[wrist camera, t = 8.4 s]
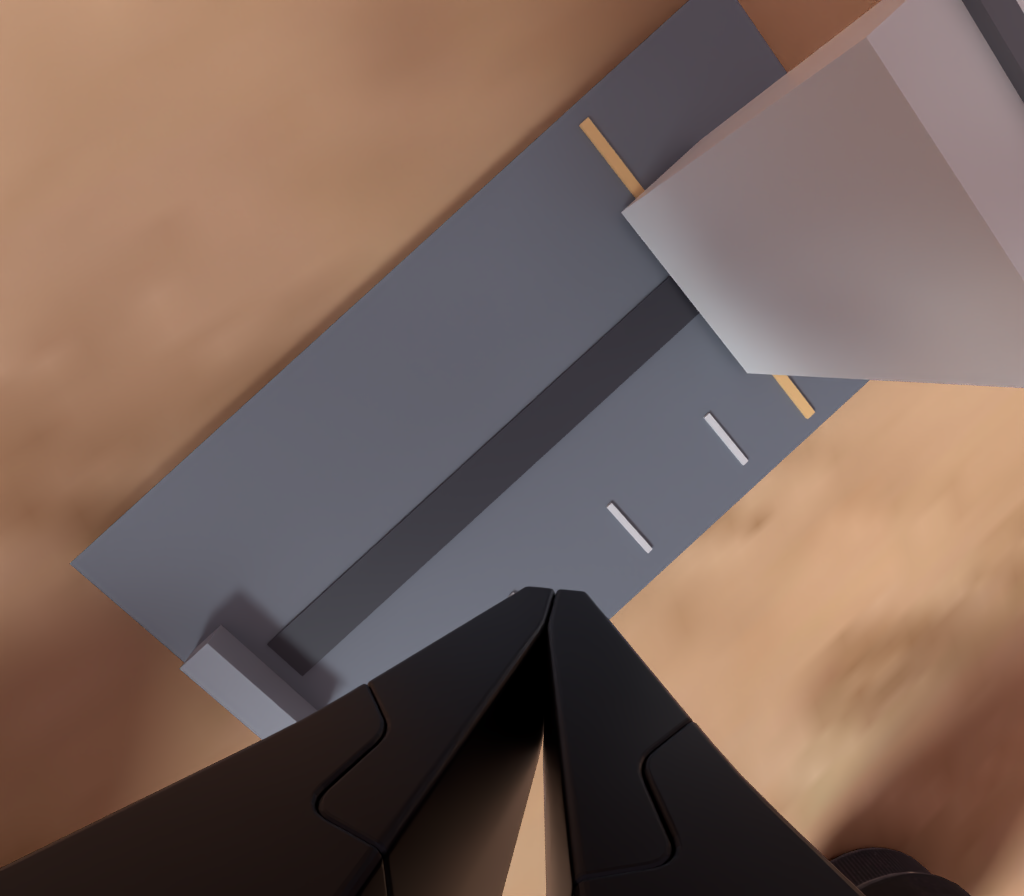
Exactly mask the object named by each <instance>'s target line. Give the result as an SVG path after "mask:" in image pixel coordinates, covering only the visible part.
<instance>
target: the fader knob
mask: <svg viewBox="0 0 1024 896" xmlns="http://www.w3.org/2000/svg"><path fill="white" fill-rule="evenodd" d="M621 213H622V214H623V216H624V217H625V218H626V220H627V221H628V222H629V223H630V225H631V226H632V227H633V228H634V230H635V231H636V232H637V234H638V235H639V236H640V237H641V239H642V240H643V241H644V242H645V244H646V245H647V246H648V248H649V249H650V250H651V251H652V253H653V254H654V255H655V256H656V258H657V259H658V260H659V262H660V263H661V264H662V265H663V267H664V268H665V269H666V270H667V272H668V273H669V274H670V276H671V277H672V278H673V279H674V281H675V282H676V283H677V284H678V286H679V287H680V288H681V290H682V291H683V292H684V293H685V295H686V296H687V297H688V298H689V300H690V301H691V302H692V304H693V305H694V306H695V307H696V309H697V310H698V311H699V312H700V314H701V315H702V316H703V318H704V319H705V320H706V321H707V323H708V324H709V325H710V326H711V328H712V329H713V330H714V332H715V333H716V334H717V335H718V337H719V338H720V339H721V341H722V342H723V343H724V344H725V346H726V347H727V348H728V349H729V351H730V352H731V353H732V355H733V356H734V357H735V358H736V360H737V361H738V362H739V363H740V365H741V366H742V367H743V369H744V370H745V371H746V372H747V373H751V374H770V375H789V376H808V377H827V378H845V379H864V380H883V381H902V382H921V383H940V384H958V385H977V386H996V387H1015V388H1024V0H881V1H880V2H879V3H877V4H876V5H875V6H874V7H872V8H871V9H870V10H868V11H867V12H866V13H864V14H863V15H862V16H861V17H859V18H858V19H857V20H855V21H854V22H853V23H851V24H850V25H849V26H848V27H846V28H845V29H844V30H842V31H841V32H840V33H839V34H837V35H836V36H835V37H833V38H832V39H831V40H829V41H828V42H827V43H826V44H824V45H823V46H822V47H820V48H819V49H818V50H816V51H815V52H814V53H813V54H811V55H810V56H809V57H807V58H806V59H805V60H803V61H802V62H801V63H800V64H798V65H797V66H796V67H794V68H793V69H792V70H791V71H789V72H788V73H787V74H785V75H784V76H783V77H781V78H780V79H779V80H778V81H776V82H775V83H774V84H772V85H771V86H770V87H768V88H767V89H766V90H765V91H763V92H762V93H761V94H759V95H758V96H757V97H756V98H754V99H753V100H752V101H750V102H749V103H748V104H746V105H745V106H744V107H743V108H741V109H740V110H739V111H737V112H736V113H735V114H733V115H732V116H731V117H730V118H728V119H727V120H726V121H724V122H723V123H722V124H720V125H719V126H718V127H717V128H715V129H714V130H713V131H711V132H710V133H709V134H708V135H706V136H705V137H704V138H702V139H701V140H700V141H699V142H698V143H696V144H695V145H694V146H693V147H692V148H691V149H690V150H689V151H688V152H687V153H686V154H684V155H683V156H682V157H681V158H680V159H679V160H678V161H677V162H676V163H675V164H673V165H672V166H671V167H670V168H669V169H668V170H667V171H666V172H665V173H664V174H663V175H661V176H660V177H659V178H658V179H657V180H656V181H655V182H654V183H653V184H652V185H650V186H649V187H648V188H647V189H646V190H645V191H644V192H643V193H642V194H641V195H639V196H638V197H637V198H636V199H635V200H634V201H633V202H632V203H631V204H630V205H629V206H627V207H626V208H625V209H624V210H623V211H622V212H621Z"/></svg>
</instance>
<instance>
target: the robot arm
mask: <svg viewBox="0 0 1024 896" xmlns="http://www.w3.org/2000/svg"><path fill="white" fill-rule="evenodd" d="M543 733H544V738H543ZM542 740H543V776H544V818H545V860H546V896H865V895H864V894H863V893H862V892H861V891H860V890H859V889H858V888H857V887H856V886H855V885H854V884H853V883H852V882H851V881H849V880H848V879H847V878H846V877H845V876H844V875H843V874H842V873H841V872H840V871H839V870H838V869H837V868H836V867H835V866H834V865H833V864H832V863H831V862H830V861H829V860H828V859H826V858H825V857H824V856H823V855H822V854H821V853H820V852H819V851H818V850H817V849H816V848H815V847H814V846H813V845H812V844H811V843H810V842H809V841H808V840H807V839H806V838H805V837H803V836H802V835H801V834H800V833H799V832H798V831H797V830H796V829H795V828H794V827H793V826H792V825H791V824H790V823H789V822H788V821H787V820H786V819H785V818H784V817H783V816H782V815H781V814H780V813H779V812H778V811H777V810H776V809H775V808H774V807H773V806H772V805H771V804H770V803H769V802H768V801H767V800H766V799H765V798H764V797H763V796H762V795H761V794H760V793H759V792H758V791H757V790H756V789H755V788H754V787H753V786H752V785H751V784H750V783H749V782H748V781H747V780H746V779H745V778H744V777H743V776H742V775H741V774H740V773H739V772H738V771H737V770H736V769H735V767H734V766H733V765H732V764H731V763H730V762H729V761H728V760H727V758H726V757H725V756H724V755H723V754H722V753H721V752H720V751H719V749H718V748H717V747H716V746H715V745H714V744H713V743H712V742H711V740H710V739H709V738H708V737H707V736H706V734H705V733H704V732H703V731H702V730H701V728H700V727H699V726H698V725H697V724H696V723H694V722H693V721H692V719H691V718H690V717H689V716H688V714H687V713H686V712H685V711H684V710H683V708H682V707H681V706H680V705H679V704H678V702H677V701H676V700H675V699H674V697H673V696H672V695H671V694H670V693H669V691H668V690H667V689H666V688H665V687H664V685H663V684H662V683H661V682H660V681H659V679H658V678H657V677H656V676H655V675H654V673H653V672H652V671H651V670H650V669H649V667H648V666H647V665H646V664H645V663H644V661H643V660H642V659H641V658H640V657H639V655H638V654H637V653H636V652H635V651H634V649H633V648H632V647H631V646H630V644H629V643H628V642H627V641H626V640H625V638H624V637H623V636H622V635H621V634H620V632H619V631H618V630H617V629H616V628H615V626H614V625H613V624H612V623H611V622H610V620H609V619H608V618H607V617H606V616H605V614H604V613H603V612H602V611H601V610H600V608H599V607H598V606H597V605H596V604H595V602H594V601H593V600H592V599H591V597H590V596H589V595H588V594H587V593H586V592H584V591H577V590H566V589H559V590H557V592H556V594H555V592H554V590H553V589H551V588H544V587H533V586H527V587H524V588H523V589H521V590H519V591H518V592H516V593H514V594H513V595H511V596H509V597H508V598H506V599H504V600H503V601H501V602H499V603H498V604H496V605H494V606H493V607H491V608H490V609H488V610H486V611H485V612H483V613H481V614H480V615H478V616H476V617H475V618H473V619H471V620H470V621H468V622H466V623H465V624H463V625H461V626H460V627H458V628H456V629H455V630H453V631H451V632H450V633H448V634H447V635H445V636H443V637H442V638H440V639H438V640H437V641H435V642H433V643H432V644H430V645H428V646H427V647H425V648H423V649H422V650H420V651H418V652H417V653H415V654H413V655H412V656H410V657H409V658H407V659H405V660H404V661H402V662H400V663H399V664H397V665H395V666H394V667H392V668H390V669H389V670H387V671H385V672H384V673H382V674H380V675H379V676H377V677H375V678H374V679H372V680H371V681H369V682H368V684H362V685H360V686H358V687H357V688H355V689H353V690H352V691H350V692H348V693H347V694H345V695H343V696H342V697H340V698H338V699H337V700H335V701H333V702H331V703H330V704H328V705H326V706H324V707H323V708H321V709H319V710H317V711H316V712H314V713H312V714H310V715H309V716H307V717H305V718H303V719H302V720H300V721H298V722H296V723H294V724H292V725H290V726H288V727H286V728H284V729H282V730H280V731H278V732H276V733H274V734H272V735H270V736H268V737H267V738H265V739H263V740H261V741H259V742H257V743H255V744H253V745H251V746H249V747H247V748H245V749H243V750H241V751H239V752H237V753H234V754H232V755H230V756H228V757H226V758H224V759H222V760H220V761H218V762H216V763H214V764H212V765H210V766H208V767H206V768H204V769H202V770H200V771H198V772H196V773H194V774H192V775H190V776H188V777H186V778H184V779H181V780H179V781H177V782H175V783H173V784H171V785H169V786H167V787H165V788H163V789H161V790H159V791H157V792H155V793H153V794H151V795H149V796H147V797H145V798H143V799H141V800H139V801H137V802H135V803H133V804H130V805H128V806H126V807H124V808H122V809H120V810H118V811H116V812H114V813H112V814H110V815H108V816H106V817H104V818H102V819H100V820H98V821H96V822H94V823H92V824H90V825H88V826H86V827H84V828H82V829H80V830H77V831H75V832H73V833H71V834H69V835H67V836H65V837H63V838H61V839H59V840H57V841H55V842H53V843H51V844H49V845H47V846H45V847H43V848H41V849H39V850H37V851H35V852H33V853H31V854H29V855H27V856H24V857H22V858H20V859H18V860H16V861H14V862H12V863H10V864H8V865H6V866H4V867H2V868H0V896H502V893H503V889H504V886H505V882H506V878H507V874H508V871H509V867H510V863H511V859H512V856H513V852H514V848H515V845H516V841H517V837H518V833H519V830H520V826H521V822H522V818H523V815H524V811H525V807H526V804H527V800H528V796H529V792H530V789H531V785H532V781H533V778H534V774H535V770H536V766H537V763H538V759H539V754H540V750H541V746H542Z"/></svg>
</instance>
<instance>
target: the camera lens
mask: <svg viewBox="0 0 1024 896" xmlns="http://www.w3.org/2000/svg"><path fill="white" fill-rule="evenodd" d="M830 862H831V863H832V864H833V865H834V866H835V867H836V868H837V869H838V870H839V871H840V872H841V873H842V874H843V875H844V876H845V877H846V878H847V879H848V880H849V881H851V882H852V883H853V884H854V885H855V886H856V887H857V888H858V889H859V890H860V891H861V892H862V893H863V894H864V895H865V896H970V895H969V894H968V893H967V892H966V891H965V890H964V889H962V888H961V887H960V886H958V885H957V884H956V883H954V882H951V881H949V880H947V879H945V878H942V877H940V876H936V875H933V874H931V873H930V872H929V871H928V870H927V869H926V868H924V867H923V866H922V865H921V864H920V863H919V862H917V861H916V860H915V859H913V858H912V857H910V856H908V855H906V854H904V853H902V852H899V851H895V850H891V849H886V848H865V849H858V850H855V851H852V852H849V853H845V854H843V855H841V856H839V857H837V858H835V859H833V860H832V861H830Z"/></svg>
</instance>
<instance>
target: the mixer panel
mask: <svg viewBox="0 0 1024 896" xmlns="http://www.w3.org/2000/svg"><path fill="white" fill-rule="evenodd" d="M785 74H787V72H786V71H785V69H784V68H783V66H782V65H781V63H780V62H779V60H778V59H777V57H776V56H775V54H774V53H773V52H772V50H771V49H770V47H769V46H768V44H767V43H766V41H765V40H764V38H763V37H762V35H761V34H760V32H759V31H758V30H757V28H756V27H755V25H754V24H753V22H752V21H751V19H750V18H749V16H748V15H747V13H746V12H745V11H744V9H743V8H742V6H741V5H740V3H739V2H738V0H689V1H688V2H686V3H685V4H684V5H683V6H682V7H681V8H680V9H679V10H678V11H677V12H675V13H674V14H673V15H672V16H671V17H670V18H669V19H668V20H667V21H666V22H664V23H663V24H662V25H661V26H660V27H659V28H658V29H657V30H656V31H655V32H653V33H652V34H651V35H650V36H649V37H648V38H647V39H646V40H645V41H644V42H643V43H641V44H640V45H639V46H638V47H637V48H636V49H635V50H634V51H633V52H632V53H630V54H629V55H628V56H627V57H626V58H625V59H624V60H623V61H622V62H621V63H619V64H618V65H617V66H616V67H615V68H614V69H613V70H612V71H611V72H610V73H608V74H607V75H606V76H605V77H604V78H603V79H602V80H601V81H600V82H599V83H597V84H596V85H595V86H594V87H593V88H592V89H591V90H590V91H589V92H588V93H586V94H585V95H584V96H583V97H582V98H581V99H580V100H579V101H578V102H577V103H575V104H574V105H573V106H572V107H571V108H570V109H569V110H568V111H567V112H566V113H564V114H563V115H562V116H561V117H560V118H559V119H558V120H557V121H556V122H555V123H553V124H552V125H551V126H550V127H549V128H548V129H547V130H546V131H545V132H544V133H542V134H541V135H540V136H539V137H538V138H537V139H536V140H535V141H534V142H533V143H531V144H530V145H529V146H528V147H527V148H526V149H525V150H524V151H523V152H522V153H520V154H519V155H518V156H517V157H516V158H515V159H514V160H513V161H512V162H511V163H509V164H508V165H507V166H506V167H505V168H504V169H503V170H502V171H501V172H500V173H498V174H497V175H496V176H495V177H494V178H493V179H492V180H491V181H490V182H489V183H487V184H486V185H485V186H484V187H483V188H482V189H481V190H480V191H479V192H478V193H476V194H475V195H474V196H473V197H472V198H471V199H470V200H469V201H468V202H467V203H465V204H464V205H463V206H462V207H461V208H460V209H459V210H458V211H457V212H456V213H455V214H453V215H452V216H451V217H450V218H449V219H448V220H447V221H446V222H445V223H444V224H442V225H441V226H440V227H439V228H438V229H437V230H436V231H435V232H434V233H433V234H431V235H430V236H429V237H428V238H427V239H426V240H425V241H424V242H423V243H422V244H420V245H419V246H418V247H417V248H416V249H415V250H414V251H413V252H412V253H411V254H409V255H408V256H407V257H406V258H405V259H404V260H403V261H402V262H401V263H400V264H398V265H397V266H396V267H395V268H394V269H393V270H392V271H391V272H390V273H389V274H387V275H386V276H385V277H384V278H383V279H382V280H381V281H380V282H379V283H378V284H376V285H375V286H374V287H373V288H372V289H371V290H370V291H369V292H368V293H367V294H365V295H364V296H363V297H362V298H361V299H360V300H359V301H358V302H357V303H356V304H354V305H353V306H352V307H351V308H350V309H349V310H348V311H347V312H346V313H345V314H343V315H342V316H341V317H340V318H339V319H338V320H337V321H336V322H335V323H334V324H332V325H331V326H330V327H329V328H328V329H327V330H326V331H325V332H324V333H323V334H321V335H320V336H319V337H318V338H317V339H316V340H315V341H314V342H313V343H312V344H310V345H309V346H308V347H307V348H306V349H305V350H304V351H303V352H302V353H301V354H299V355H298V356H297V357H296V358H295V359H294V360H293V361H292V362H291V363H290V364H288V365H287V366H286V367H285V368H284V369H283V370H282V371H281V372H280V373H279V374H277V375H276V376H275V377H274V378H273V379H272V380H271V381H270V382H269V383H268V384H267V385H265V386H264V387H263V388H262V389H261V390H260V391H259V392H258V393H257V394H256V395H254V396H253V397H252V398H251V399H250V400H249V401H248V402H247V403H246V404H245V405H243V406H242V407H241V408H240V409H239V410H238V411H237V412H236V413H235V414H234V415H232V416H231V417H230V418H229V419H228V420H227V421H226V422H225V423H224V424H223V425H221V426H220V427H219V428H218V429H217V430H216V431H215V432H214V433H213V434H212V435H210V436H209V437H208V438H207V439H206V440H205V441H204V442H203V443H202V444H201V445H199V446H198V447H197V448H196V449H195V450H194V451H193V452H192V453H191V454H190V455H188V456H187V457H186V458H185V459H184V460H183V461H182V462H181V463H180V464H179V465H177V466H176V467H175V468H174V469H173V470H172V471H171V472H170V473H169V474H168V475H166V476H165V477H164V478H163V479H162V480H161V481H160V482H159V483H158V484H157V485H155V486H154V487H153V488H152V489H151V490H150V491H149V492H148V493H147V494H146V495H144V496H143V497H142V498H141V499H140V500H139V501H138V502H137V503H136V504H135V505H133V506H132V507H131V508H130V509H129V510H128V511H127V512H126V513H125V514H124V515H122V516H121V517H120V518H119V519H118V520H117V521H116V522H115V523H114V524H113V525H111V526H110V527H109V528H108V529H107V530H106V531H105V532H104V533H103V534H102V535H100V536H99V537H98V538H97V539H96V540H95V541H94V542H93V543H92V544H91V545H89V546H88V547H87V548H86V549H85V550H84V551H83V552H82V553H81V554H80V555H79V556H77V557H76V558H75V559H74V560H73V561H72V562H71V563H70V564H71V565H72V566H73V567H74V568H75V569H76V570H78V571H79V572H80V573H81V574H82V575H83V576H85V577H86V578H87V579H88V580H89V581H90V582H91V583H93V584H94V585H95V586H96V587H97V588H98V589H100V590H101V591H102V592H103V593H104V594H105V595H107V596H108V597H109V598H110V599H111V600H112V601H114V602H115V603H116V604H117V605H118V606H119V607H120V608H122V609H123V610H124V611H125V612H126V613H127V614H129V615H130V616H131V617H132V618H133V619H134V620H136V621H137V622H138V623H139V624H140V625H141V626H143V627H144V628H145V629H146V630H147V631H148V632H149V633H151V634H152V635H153V636H154V637H155V638H156V639H158V640H159V641H160V642H161V643H162V644H163V645H165V646H166V647H167V648H168V649H169V650H170V651H171V652H173V653H174V654H175V655H176V656H177V657H178V658H180V659H181V660H182V661H183V662H184V663H183V665H182V666H181V667H180V670H181V671H182V672H184V673H185V674H186V675H187V676H188V677H189V678H191V679H192V680H193V681H194V682H195V683H196V684H198V685H199V686H200V687H201V688H202V689H203V690H205V691H206V692H207V693H208V694H209V695H210V696H212V697H213V698H214V699H215V700H216V701H217V702H219V703H220V704H221V705H222V706H223V707H224V708H226V709H227V710H228V711H229V712H230V713H231V714H233V715H234V716H235V717H236V718H237V719H238V720H240V721H241V722H242V723H243V724H244V725H245V726H247V727H248V728H249V729H250V730H251V731H252V732H254V733H255V734H256V735H257V736H258V737H259V738H261V739H262V740H263V739H265V738H267V737H268V736H270V735H272V734H274V733H276V732H278V731H280V730H282V729H284V728H286V727H288V726H290V725H292V724H294V723H296V722H298V721H300V720H302V719H303V718H305V717H307V716H309V715H310V714H312V713H314V712H316V711H317V710H319V709H321V708H323V707H324V706H326V705H328V704H330V703H331V702H333V701H335V700H337V699H338V698H340V697H342V696H343V695H345V694H347V693H348V692H350V691H352V690H353V689H355V688H357V687H358V686H360V685H362V684H368V682H369V681H371V680H372V679H374V678H375V677H377V676H379V675H380V674H382V673H384V672H385V671H387V670H389V669H390V668H392V667H394V666H395V665H397V664H399V663H400V662H402V661H404V660H405V659H407V658H409V657H410V656H412V655H413V654H415V653H417V652H418V651H420V650H422V649H423V648H425V647H427V646H428V645H430V644H432V643H433V642H435V641H437V640H438V639H440V638H442V637H443V636H445V635H447V634H448V633H450V632H451V631H453V630H455V629H456V628H458V627H460V626H461V625H463V624H465V623H466V622H468V621H470V620H471V619H473V618H475V617H476V616H478V615H480V614H481V613H483V612H485V611H486V610H488V609H490V608H491V607H493V606H494V605H496V604H498V603H499V602H501V601H503V600H504V599H506V598H508V597H509V596H511V595H513V594H514V593H516V592H518V591H519V590H521V589H523V588H524V587H527V586H533V587H544V588H551V589H553V590H554V592H555V594H556V592H557V590H559V589H566V590H577V591H584V592H586V593H587V594H588V595H589V596H590V597H591V599H592V600H593V601H594V602H595V604H596V605H597V606H598V607H599V608H600V610H601V611H602V612H603V613H604V614H605V616H606V617H607V618H608V619H610V618H611V617H612V616H614V615H615V614H616V613H617V612H618V611H619V610H620V609H621V608H622V607H623V606H624V605H626V604H627V603H628V602H629V601H630V600H631V599H632V598H633V597H634V596H635V595H636V594H638V593H639V592H640V591H641V590H642V589H643V588H644V587H645V586H646V585H647V584H648V583H649V582H651V581H652V580H653V579H654V578H655V577H656V576H657V575H658V574H659V573H660V572H661V571H663V570H664V569H665V568H666V567H667V566H668V565H669V564H670V563H671V562H672V561H673V560H674V559H676V558H677V557H678V556H679V555H680V554H681V553H682V552H683V551H684V550H685V549H686V548H688V547H689V546H690V545H691V544H692V543H693V542H694V541H695V540H696V539H697V538H698V537H699V536H701V535H702V534H703V533H704V532H705V531H706V530H707V529H708V528H709V527H710V526H711V525H713V524H714V523H715V522H716V521H717V520H718V519H719V518H720V517H721V516H722V515H723V514H724V513H726V512H727V511H728V510H729V509H730V508H731V507H732V506H733V505H734V504H735V503H736V502H738V501H739V500H740V499H741V498H742V497H743V496H744V495H745V494H746V493H747V492H748V491H750V490H751V489H752V488H753V487H754V486H755V485H756V484H757V483H758V482H759V481H760V480H761V479H763V478H764V477H765V476H766V475H767V474H768V473H769V472H770V471H771V470H772V469H773V468H775V467H776V466H777V465H778V464H779V463H780V462H781V461H782V460H783V459H784V458H785V457H786V456H788V455H789V454H790V453H791V452H792V451H793V450H794V449H795V448H796V447H797V446H798V445H800V444H801V443H802V442H803V441H804V440H805V439H806V438H807V437H808V436H809V435H810V434H811V433H813V432H814V431H815V430H816V429H817V428H818V427H819V426H820V425H821V424H822V423H823V422H825V421H826V420H827V419H828V418H829V417H830V416H831V415H832V414H833V413H834V412H835V411H837V410H838V409H839V408H840V407H841V406H842V405H843V404H844V403H845V402H846V401H847V400H848V399H850V398H851V397H852V396H853V395H854V394H855V393H856V392H857V391H858V390H859V389H860V388H862V387H863V386H864V385H865V384H866V383H867V382H868V381H869V380H864V379H845V378H827V377H808V376H789V375H770V374H751V373H747V372H746V371H745V370H744V369H743V367H742V366H741V365H740V363H739V362H738V361H737V360H736V358H735V357H734V356H733V355H732V353H731V352H730V351H729V349H728V348H727V347H726V346H725V344H724V343H723V342H722V341H721V339H720V338H719V337H718V335H717V334H716V333H715V332H714V330H713V329H712V328H711V326H710V325H709V324H708V323H707V321H706V320H705V319H704V318H703V316H702V315H701V314H700V312H699V311H698V310H697V309H696V307H695V306H694V305H693V304H692V302H691V301H690V300H689V298H688V297H687V296H686V295H685V293H684V292H683V291H682V290H681V288H680V287H679V286H678V284H677V283H676V282H675V281H674V279H673V278H672V277H671V276H670V274H669V273H668V272H667V270H666V269H665V268H664V267H663V265H662V264H661V263H660V262H659V260H658V259H657V258H656V256H655V255H654V254H653V253H652V251H651V250H650V249H649V248H648V246H647V245H646V244H645V242H644V241H643V240H642V239H641V237H640V236H639V235H638V234H637V232H636V231H635V230H634V228H633V227H632V226H631V225H630V223H629V222H628V221H627V220H626V218H625V217H624V216H623V214H622V213H621V212H622V211H623V210H624V209H625V208H626V207H627V206H629V205H630V204H631V203H632V202H633V201H634V200H635V199H636V198H637V197H638V196H639V195H641V194H642V193H643V192H644V191H645V190H646V189H647V188H648V187H649V186H650V185H652V184H653V183H654V182H655V181H656V180H657V179H658V178H659V177H660V176H661V175H663V174H664V173H665V172H666V171H667V170H668V169H669V168H670V167H671V166H672V165H673V164H675V163H676V162H677V161H678V160H679V159H680V158H681V157H682V156H683V155H684V154H686V153H687V152H688V151H689V150H690V149H691V148H692V147H693V146H694V145H695V144H696V143H698V142H699V141H700V140H701V139H702V138H704V137H705V136H706V135H708V134H709V133H710V132H711V131H713V130H714V129H715V128H717V127H718V126H719V125H720V124H722V123H723V122H724V121H726V120H727V119H728V118H730V117H731V116H732V115H733V114H735V113H736V112H737V111H739V110H740V109H741V108H743V107H744V106H745V105H746V104H748V103H749V102H750V101H752V100H753V99H754V98H756V97H757V96H758V95H759V94H761V93H762V92H763V91H765V90H766V89H767V88H768V87H770V86H771V85H772V84H774V83H775V82H776V81H778V80H779V79H780V78H781V77H783V76H784V75H785Z"/></svg>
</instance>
